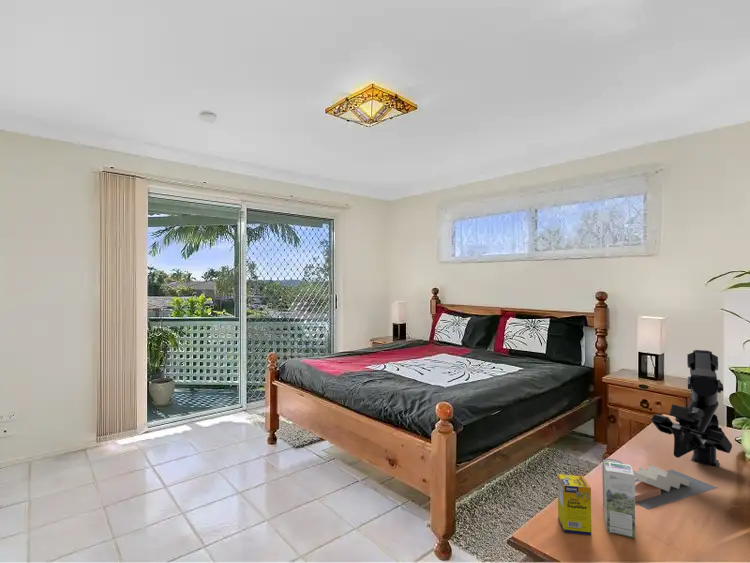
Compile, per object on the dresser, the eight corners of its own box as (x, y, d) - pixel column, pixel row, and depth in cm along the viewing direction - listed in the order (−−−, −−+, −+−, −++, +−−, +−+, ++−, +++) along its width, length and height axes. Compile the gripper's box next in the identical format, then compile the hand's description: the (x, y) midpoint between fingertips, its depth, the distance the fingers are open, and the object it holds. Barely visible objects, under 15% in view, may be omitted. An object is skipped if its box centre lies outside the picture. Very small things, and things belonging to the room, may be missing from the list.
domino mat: (672, 471, 124) (671, 469, 124) (717, 489, 113) (717, 487, 113) (605, 489, 114) (605, 487, 114) (648, 511, 102) (648, 509, 102)
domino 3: (671, 473, 119) (649, 464, 115) (689, 480, 114) (667, 471, 111) (669, 478, 118) (647, 469, 115) (688, 486, 114) (666, 477, 110)
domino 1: (652, 477, 116) (629, 468, 112) (670, 485, 111) (647, 476, 108) (650, 483, 115) (627, 474, 112) (669, 491, 111) (645, 482, 107)
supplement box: (592, 536, 93) (591, 487, 93) (563, 533, 94) (563, 485, 94) (584, 521, 99) (583, 475, 99) (557, 518, 100) (557, 473, 100)
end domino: (642, 480, 114) (616, 487, 110) (660, 488, 109) (634, 496, 106) (642, 486, 114) (616, 493, 110) (660, 494, 109) (634, 502, 106)
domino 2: (661, 475, 117) (639, 466, 114) (680, 483, 112) (657, 474, 109) (660, 481, 117) (638, 472, 113) (679, 489, 112) (656, 480, 109)
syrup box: (632, 525, 97) (631, 463, 97) (636, 539, 91) (634, 474, 91) (604, 519, 99) (603, 459, 99) (606, 533, 94) (605, 469, 94)
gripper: (654, 387, 126) (629, 428, 122) (724, 403, 109) (699, 451, 105) (671, 409, 129) (648, 450, 125) (743, 428, 112) (718, 477, 108)
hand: (675, 456), depth 116 cm, fingers closed
